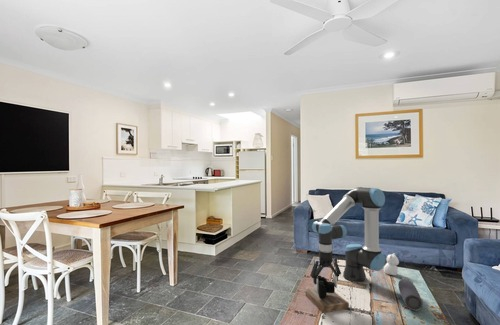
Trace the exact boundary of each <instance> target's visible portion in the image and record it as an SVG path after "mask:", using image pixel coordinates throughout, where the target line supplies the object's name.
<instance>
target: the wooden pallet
mask: <svg viewBox="0 0 500 325" xmlns="http://www.w3.org/2000/svg"><path fill="white" fill-rule="evenodd" d="M305 296H306V298H308V299H309V300H310V301H311V302H312V303H313V304H314V305H315V306H316V307H317V308H318V309H319V310H320V311H321V312H322V313H323V314H324V313H331V312H336V311H342V310H347V309H350V305H349V304H350V303H349V301H347V300H346V299H345V298H343V297H342V296H341V295H339V294H338V293H337V292H335V293H327V294H326V297H325V298H324V299H321V298H320V297H319V294H318V290H316V289H315V288H313V289H305Z"/></svg>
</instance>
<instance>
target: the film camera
mask: <svg viewBox="0 0 500 325" xmlns="http://www.w3.org/2000/svg"><path fill="white" fill-rule="evenodd" d="M317 278H318V294H319V297H320V298H321V299H324V298H325V297H326V294H327V293H336V287H334V282H333V281H328V279H327V278H326V277H325V276H322V275H320V274H319V275H318V277H317Z"/></svg>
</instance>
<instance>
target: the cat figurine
mask: <svg viewBox="0 0 500 325" xmlns="http://www.w3.org/2000/svg"><path fill="white" fill-rule="evenodd" d="M399 264H400V261H399V258H398V257H397V256H396V253H395V252H394V253H392V254H388V255H387V256H386V262H385V265H384V267H383V268H382V269H381V270H383V271H384V274H387V275H390V276H397V275H398V272H399V270H398V265H399Z"/></svg>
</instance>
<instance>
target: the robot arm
mask: <svg viewBox="0 0 500 325" xmlns="http://www.w3.org/2000/svg"><path fill="white" fill-rule="evenodd" d="M385 202H386V196H385V194H384V191H383V190H382V189H380V188H376V187H361V186H360V187H355V188H353V189H351V190H349V191H348V192H346V193H345V194H344V195H343V196H342V199H341V200H340V201H339V202H338V203H337V204H336V205H335V206H334V207H333V208H332V209H331V210H330V211H329V212H328V213H327V214H326V215H325V216H324V217H323V218H322V219H320V220H316V221H314V222H313V223H312V225H311V229H312V231H313V232H314V233H317V234H318V257H319V258H318V260H317V259H314V260H313V266H312V269H311V272H310V276H309V277H311V278H312V279H313V280H312V281H313V284H314V289H316V290H318V278H317V277H318V276H319V275H320V274H321V271H322V270H323V269H324V268H329V269H331V272H332V273H333V276H332V277H333V278H332V279H333V281H332V282H334V287H335V289H337V288H338V282H339V277H340V276H341V275H342V271H341V269H340V267H339V264H338V259H337V258H336V257H333V240H337V239H342V238H346V236H347V235H348V230H347V228H346V226H344V225H343V224H336V223H337V221H339V219H341V218H342V217H343V215H344V214H345V213H346V212H347V211H349V209H350V208H352V207H355V205H361V208H362V209H363V211H364V245H362V244H359V243H352V244H347V245H346V246H345V250H344V251H345V254H344V255H345V266H344V270H343V276H342V277H343V278H344V279H345V280H347V281H351V282H357V283H362V282H365V281H366V280H367V275H366V273H365V268H366V269H369V270H371V271H375V272H380V271H382V270H383V269H382V268H383V267H384V266H385V265H386V262H387V260H386V259H387V257H386V255H384V254H383V253H382V248H380V245H379V244H380V238H379V237H380V236H379V235H380V234H379V233H380V232H379V231H380V230H379V229H380V228H379V225H380V224H379V222H380V221H379V220H380V218H379V216H380V215H379V212H380V210H381V209H382V207H383V206H384V205H385ZM332 263H333V264H332Z"/></svg>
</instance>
